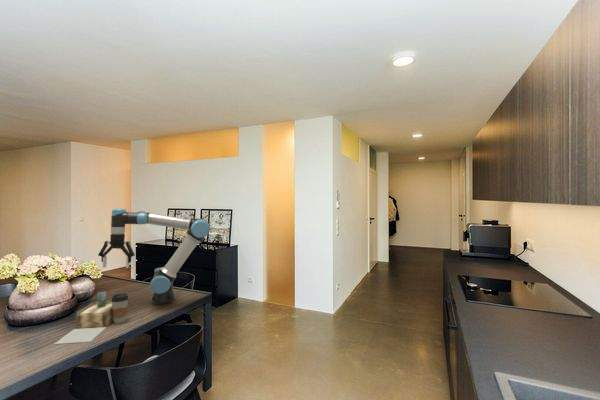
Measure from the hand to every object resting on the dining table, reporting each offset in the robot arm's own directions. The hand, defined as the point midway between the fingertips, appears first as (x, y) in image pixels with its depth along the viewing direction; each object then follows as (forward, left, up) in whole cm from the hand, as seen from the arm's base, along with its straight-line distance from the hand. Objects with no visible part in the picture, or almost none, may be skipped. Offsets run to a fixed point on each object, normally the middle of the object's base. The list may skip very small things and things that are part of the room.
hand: (116, 267), depth 178 cm
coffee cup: (-9, +15, -28) cm, 33 cm away
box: (+3, +14, -28) cm, 31 cm away
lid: (+3, +14, -21) cm, 25 cm away
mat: (+3, +31, -28) cm, 41 cm away
